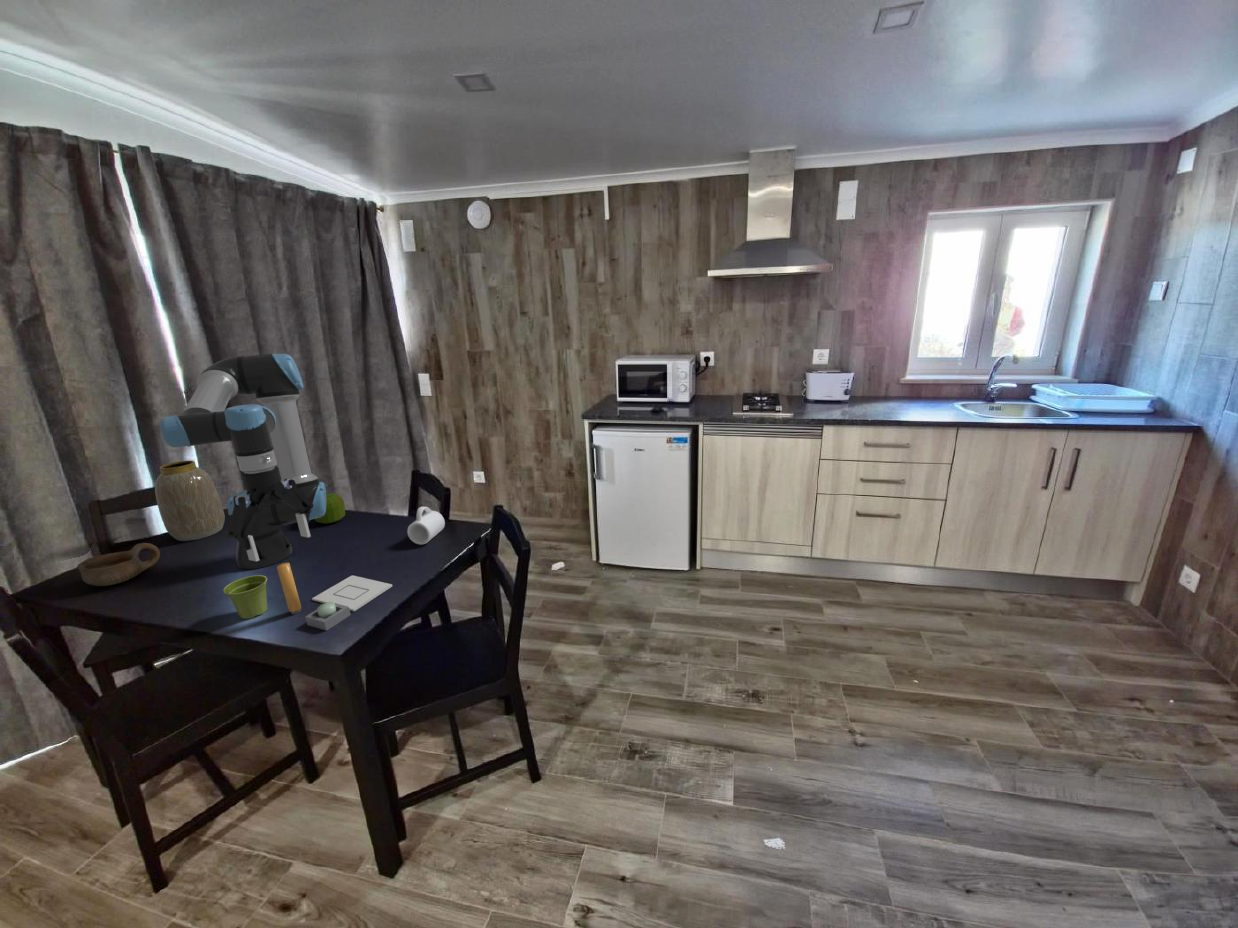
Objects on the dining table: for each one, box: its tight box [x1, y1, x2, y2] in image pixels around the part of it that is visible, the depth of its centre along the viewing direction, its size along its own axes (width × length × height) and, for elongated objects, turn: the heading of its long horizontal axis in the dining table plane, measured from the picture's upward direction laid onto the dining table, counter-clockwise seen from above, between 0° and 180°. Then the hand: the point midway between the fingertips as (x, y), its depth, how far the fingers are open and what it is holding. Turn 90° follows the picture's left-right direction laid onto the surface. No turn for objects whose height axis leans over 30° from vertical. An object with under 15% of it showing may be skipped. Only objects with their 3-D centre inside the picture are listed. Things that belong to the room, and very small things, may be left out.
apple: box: [314, 493, 346, 525], centre depth 190 cm, size 11×11×11 cm
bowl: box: [76, 542, 161, 587], centre depth 154 cm, size 18×14×10 cm
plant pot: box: [222, 574, 268, 620], centre depth 132 cm, size 9×9×9 cm
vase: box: [154, 460, 226, 542], centre depth 181 cm, size 17×17×27 cm
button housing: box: [305, 603, 352, 631], centre depth 128 cm, size 7×7×2 cm
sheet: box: [311, 574, 393, 612], centre depth 141 cm, size 16×13×1 cm
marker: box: [276, 562, 302, 615], centre depth 131 cm, size 3×3×14 cm
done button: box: [316, 602, 337, 619], centre depth 128 cm, size 4×4×3 cm
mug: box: [407, 506, 446, 546], centre depth 171 cm, size 8×10×12 cm
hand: (281, 547), depth 127 cm, fingers open, 13 cm apart
